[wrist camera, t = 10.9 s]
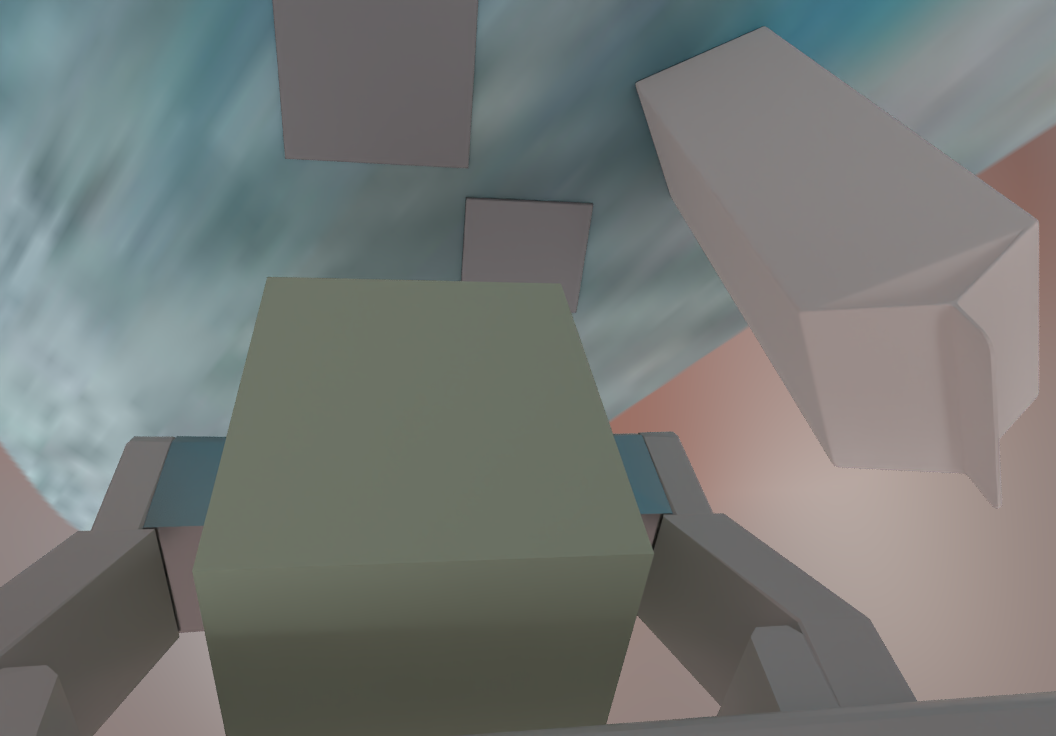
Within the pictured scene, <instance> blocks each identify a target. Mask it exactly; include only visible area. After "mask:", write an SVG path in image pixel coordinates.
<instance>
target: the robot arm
mask: <svg viewBox="0 0 1056 736" xmlns="http://www.w3.org/2000/svg"><path fill="white" fill-rule="evenodd" d="M613 436H614V439H615V442H616V444H617V447H618V450H619V453H620V456H621V459H622V462H623V465H624V468H625V471H626V473H627V476H628V479H629V482H630V485H631V488H632V491H633V494H634V497H635V500H636V502H637V505H638V508H639V511H640V514H641V517H642V520H643V523H644V526H645V529H646V531H647V534H648V537H649V540H650V543H651V546H652V549H653V552H654V556H653V560H652V563H651V567H650V570H649V574H648V577H647V581H646V585H645V588H644V592H643V595H642V599H641V602H640V606H639V609H638V613H637V616H639V618H640V619H641V620H642V621H643V622H644V623H645V624H646V625H647V626H648V627H649V629H650V630H651V631H652V632H653V633H654V634H655V635H656V636H657V637H658V638H659V639H660V640H661V642H662V643H663V644H664V645H665V646H666V647H667V648H668V649H669V650H670V651H671V653H672V654H673V655H674V656H675V657H676V658H677V659H678V660H679V661H680V662H681V663H682V665H684V667H685V668H686V669H687V670H688V671H689V672H690V673H691V674H692V675H693V676H694V678H695V679H696V680H697V681H698V682H699V683H700V684H701V685H702V686H703V687H704V688H705V689H706V690H707V692H708V693H709V694H710V695H711V696H712V697H713V698H714V699H715V700H716V701H717V703H718V704H719V705H720V706H721V707H720V710H719V712H718V714H717V716H715V717H714V716H713V717H700V718H686V719H673V720H659V721H647V722H634V723H619V724H605V725H592V726H579V727H565V728H552V729H538V730H525V731H511V732H497V733H484V734H470V735H456V736H1056V691H1055V692H1041V693H1027V694H1015V695H1014V694H1013V695H999V696H988V697H987V696H986V697H973V698H959V699H945V700H931V701H917V700H916V698H915V696H914V695H913V693H912V691H911V689H910V688H909V686H908V684H907V682H906V681H905V679H904V677H903V676H902V674H901V672H900V670H899V669H898V667H897V665H896V664H895V662H894V660H893V658H892V657H891V655H890V653H889V651H888V650H887V648H886V646H885V644H884V643H883V641H882V639H881V638H880V636H879V634H878V632H877V631H876V629H875V627H874V626H873V624H872V622H871V620H870V619H869V618H867V617H866V616H865V615H864V614H862V613H861V612H859V611H858V610H857V609H855V608H854V607H852V606H851V605H850V604H848V603H847V602H845V601H844V600H843V599H841V598H840V597H839V596H837V595H836V594H834V593H833V592H831V591H830V590H829V589H827V588H826V587H825V586H823V585H822V584H821V583H819V582H818V581H816V580H815V579H814V578H812V577H811V576H809V575H808V574H807V573H805V572H804V571H802V570H801V569H800V568H798V567H797V566H796V565H794V564H793V563H791V562H790V561H789V560H787V559H786V558H785V557H783V556H782V555H780V554H779V553H778V552H776V551H775V550H773V549H772V548H770V547H769V546H768V545H766V544H765V543H764V542H762V541H761V540H760V539H758V538H757V537H755V536H754V535H753V534H751V533H750V532H748V531H747V530H746V529H744V528H743V527H742V526H740V525H739V524H737V523H736V522H734V521H733V520H732V519H730V518H729V517H728V516H726V515H725V514H713V512H712V509H711V507H710V505H709V503H708V501H707V498H706V496H705V494H704V492H703V490H702V488H701V485H700V483H699V481H698V479H697V477H696V474H695V472H694V470H693V468H692V466H691V463H690V461H689V459H688V457H687V455H686V453H685V450H684V448H683V446H682V444H681V442H680V439H679V437H678V436H677V435H676V434H675V433H674V432H647V433H638V434H613ZM225 441H226V437H196V436H177V437H138V436H134V437H133V438H132V439H131V440H130V441H129V442H128V443H127V444H126V446H125V449H124V451H123V454H122V456H121V458H120V461H119V463H118V466H117V468H116V471H115V473H114V475H113V478H112V480H111V483H110V485H109V488H108V490H107V492H106V495H105V497H104V500H103V502H102V505H101V507H100V509H99V512H98V514H97V517H96V519H95V522H94V524H93V526H92V529H91V531H77V532H76V533H75V534H73V535H72V536H70V537H69V538H68V539H66V540H65V541H64V542H62V543H61V544H60V545H58V546H57V547H56V548H54V549H53V550H51V551H50V552H49V553H47V554H46V555H44V556H43V557H42V558H40V559H39V560H38V561H36V562H35V563H33V564H32V565H31V566H29V567H28V568H27V569H25V570H24V571H22V572H21V573H20V574H18V575H17V576H15V577H14V578H13V579H12V580H10V581H9V582H7V583H6V584H4V585H3V586H2V587H0V736H93V735H94V734H95V733H96V732H97V730H98V729H99V728H100V727H101V726H102V725H103V724H104V722H105V721H106V720H107V719H108V718H109V717H110V716H111V715H112V713H113V712H114V711H115V710H116V709H117V708H118V707H119V705H120V704H121V703H122V702H123V701H124V699H126V697H127V696H128V695H129V694H130V693H131V692H132V691H133V689H134V688H135V687H136V686H137V685H138V684H139V682H140V681H141V680H142V679H143V678H144V677H145V676H146V675H147V673H148V672H149V671H150V670H151V669H152V667H154V665H155V664H156V663H157V662H158V661H159V660H160V658H161V657H162V656H163V655H164V654H165V653H166V652H167V651H168V649H169V648H170V647H171V646H172V645H173V644H174V642H175V641H176V640H177V639H178V638H179V633H184V632H197V631H204V626H203V621H202V616H201V612H200V607H199V602H198V597H197V592H196V587H195V582H194V577H193V573H192V570H193V566H194V562H195V558H196V554H197V550H198V546H199V542H200V539H201V535H202V531H203V527H204V523H205V519H206V515H207V511H208V507H209V503H210V499H211V495H212V492H213V488H214V484H215V480H216V476H217V472H218V468H219V464H220V460H221V456H222V452H223V449H224V445H225Z"/></svg>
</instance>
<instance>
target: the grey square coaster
mask: <svg viewBox="0 0 1056 736" xmlns="http://www.w3.org/2000/svg"><path fill="white" fill-rule="evenodd" d="M592 210H593V204H592V203H573V202H552V201H531V200H510V199H489V198H468V197H466V211H465V228H464V245H463V262H462V279H461V281H469V282H513V283H558V284H561V285H562V288H563V291H564V294H565V297H566V300H567V302H568V305H569V308H570V311H571V313H576V310H577V304H578V298H579V291H580V285H581V279H582V273H583V266H584V260H585V254H586V247H587V241H588V235H589V228H590V222H591V216H592Z"/></svg>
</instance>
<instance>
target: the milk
mask: <svg viewBox="0 0 1056 736" xmlns="http://www.w3.org/2000/svg"><path fill="white" fill-rule="evenodd" d="M636 89H637V92H638V95H639V98H640V101H641V104H642V107H643V111H644V114H645V117H646V120H647V123H648V126H649V129H650V133H651V136H652V139H653V142H654V145H655V148H656V152H657V155H658V158H659V161H660V164H661V167H662V170H663V174H664V177H665V180H666V183H667V186H668V189H669V192H670V195H671V198H672V200H673V201H674V203H675V205H676V206H677V208H678V210H679V211H680V213H681V215H682V216H683V218H684V219H685V221H686V223H687V224H688V226H689V228H690V229H691V231H692V233H693V234H694V236H695V238H696V239H697V241H698V243H699V244H700V246H701V248H702V249H703V251H704V253H705V254H706V256H707V257H708V259H709V261H710V262H711V264H712V266H713V267H714V269H715V271H716V272H717V274H718V276H719V277H720V279H721V281H722V282H723V284H724V286H725V287H726V289H727V290H728V292H729V294H730V295H731V297H732V299H733V300H734V302H735V304H736V305H737V307H738V309H739V310H740V312H741V314H742V315H743V317H744V319H745V320H746V322H747V324H748V325H749V327H750V328H751V330H752V332H753V333H754V335H755V337H756V338H757V340H758V341H759V343H760V345H761V347H762V348H763V350H764V351H765V353H766V355H767V356H768V358H769V360H770V361H771V363H772V365H773V366H774V368H775V370H776V371H777V373H778V375H779V376H780V378H781V380H782V381H783V383H784V385H785V386H786V388H787V389H788V391H789V393H790V394H791V396H792V398H793V399H794V401H795V403H796V404H797V406H798V408H799V409H800V411H801V413H802V414H803V416H804V418H805V419H806V421H807V423H808V424H809V426H810V428H811V429H812V431H813V433H814V434H815V436H816V437H817V439H818V441H819V442H820V444H821V446H822V447H823V449H824V451H825V452H826V454H827V456H828V457H829V459H830V461H831V462H832V463H833V465H834V466H836V467H842V468H859V469H880V470H900V471H920V472H941V473H962V474H966V475H967V476H968V477H969V478H970V479H971V480H972V482H973V483H974V484H975V485H976V487H977V488H978V489H979V491H980V492H981V493H982V494H983V496H984V497H985V498H986V499H987V500H988V502H989V503H990V504H991V505H992V506H993V507H994V508H996V509H997V508H1000V507H1002V489H1001V465H1000V442H999V439H1000V438H1001V437H1002V436H1003V435H1004V434H1005V433H1006V431H1007V430H1008V429H1009V428H1010V427H1011V426H1012V425H1013V424H1014V423H1015V421H1016V420H1017V419H1018V418H1019V417H1020V416H1021V414H1023V413H1024V411H1025V410H1026V409H1027V408H1028V407H1029V406H1030V405H1031V403H1032V402H1033V401H1034V400H1035V399H1036V398H1037V396H1038V394H1039V222H1038V220H1037V219H1036V218H1034V217H1033V216H1032V215H1030V214H1029V213H1027V212H1026V211H1024V210H1023V209H1022V208H1020V207H1019V206H1017V205H1016V204H1015V203H1013V202H1012V201H1011V200H1009V199H1008V198H1006V197H1005V196H1004V195H1002V194H1001V193H999V192H998V191H996V190H995V189H994V188H992V187H991V186H989V185H988V184H986V183H985V182H984V181H982V180H981V179H979V178H978V177H977V176H975V175H974V174H973V173H971V172H970V171H968V170H967V169H966V168H964V167H963V166H961V165H960V164H958V163H957V162H956V161H954V160H953V159H951V158H950V157H949V156H947V155H946V154H944V153H943V152H942V151H940V150H939V149H937V148H936V147H935V146H933V145H932V144H930V143H929V142H928V141H926V140H925V139H923V138H922V137H920V136H919V135H918V134H916V133H915V132H913V131H912V130H911V129H909V128H908V127H906V126H905V125H904V124H902V123H901V122H899V121H898V120H897V119H895V118H894V117H892V116H891V115H890V114H888V113H887V112H885V111H884V110H883V109H881V108H880V107H878V106H877V105H875V104H874V103H873V102H871V101H870V100H868V99H867V98H866V97H864V96H863V95H861V94H860V93H859V92H857V91H856V90H854V89H853V88H852V87H850V86H849V85H847V84H846V83H845V82H843V81H842V80H840V79H839V78H837V77H836V76H835V75H833V74H832V73H830V72H829V71H828V70H826V69H825V68H823V67H822V66H821V65H819V64H818V63H816V62H815V61H814V60H812V59H811V58H809V57H808V56H807V55H805V54H804V53H802V52H801V51H799V50H798V49H797V48H795V47H794V46H792V45H791V44H790V43H788V42H787V41H785V40H784V39H783V38H781V37H780V36H778V35H777V34H776V33H774V32H773V31H771V30H770V29H769V28H767V27H765V26H764V27H761V28H759V29H757V30H754V31H752V32H750V33H747V34H745V35H743V36H741V37H738V38H736V39H734V40H732V41H729V42H727V43H725V44H722V45H720V46H718V47H716V48H713V49H711V50H709V51H707V52H704V53H702V54H700V55H697V56H695V57H693V58H691V59H688V60H686V61H684V62H681V63H679V64H677V65H675V66H672V67H670V68H668V69H666V70H663V71H661V72H659V73H656V74H654V75H652V76H650V77H647V78H645V79H643V80H641V81H638V82H637V83H636Z"/></svg>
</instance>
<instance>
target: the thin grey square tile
mask: <svg viewBox="0 0 1056 736" xmlns="http://www.w3.org/2000/svg"><path fill="white" fill-rule="evenodd" d="M273 12H274V25H275V37H276V49H277V62H278V74H279V87H280V99H281V112H282V124H283V137H284V149H285V159H301V160H320V161H339V162H358V163H377V164H396V165H415V166H434V167H453V168H468V165H469V148H470V132H471V115H472V98H473V81H474V64H475V47H476V30H477V13H478V0H273Z"/></svg>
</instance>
